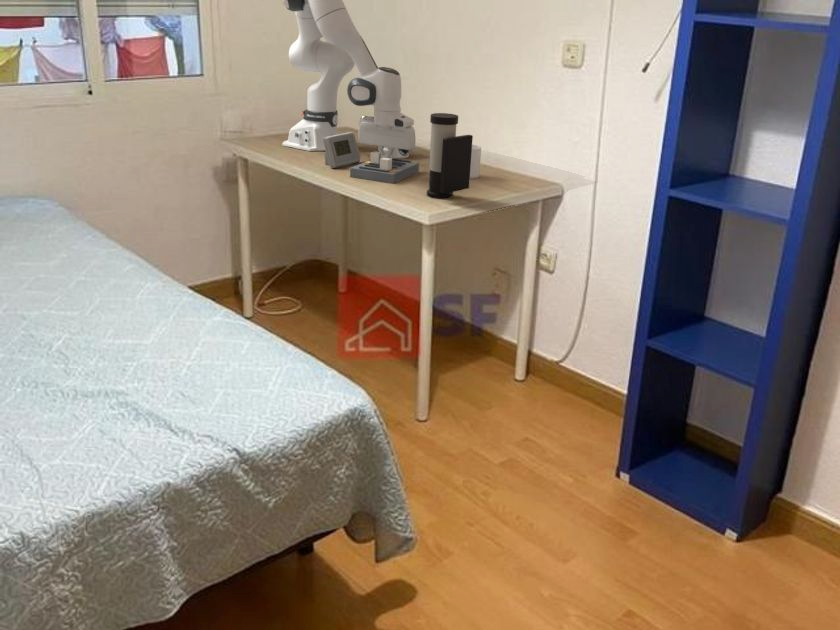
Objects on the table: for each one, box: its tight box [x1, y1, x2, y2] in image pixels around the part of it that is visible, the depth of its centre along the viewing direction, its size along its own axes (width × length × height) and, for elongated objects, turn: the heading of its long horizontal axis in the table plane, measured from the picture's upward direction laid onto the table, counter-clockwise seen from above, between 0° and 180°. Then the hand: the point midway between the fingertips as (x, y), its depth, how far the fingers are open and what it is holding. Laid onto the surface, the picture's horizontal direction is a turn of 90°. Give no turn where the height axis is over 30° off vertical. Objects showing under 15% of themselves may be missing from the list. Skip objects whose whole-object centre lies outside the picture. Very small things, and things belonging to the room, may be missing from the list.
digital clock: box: [323, 131, 361, 169], centre depth 287 cm, size 16×9×11 cm, turn 135°
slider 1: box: [370, 151, 381, 164], centre depth 278 cm, size 3×3×4 cm
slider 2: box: [380, 158, 392, 171], centre depth 270 cm, size 3×3×4 cm
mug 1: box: [384, 147, 410, 159], centre depth 305 cm, size 13×10×8 cm
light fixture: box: [426, 112, 474, 199], centre depth 250 cm, size 12×11×25 cm
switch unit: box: [349, 158, 420, 184], centre depth 278 cm, size 16×21×4 cm
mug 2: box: [470, 144, 482, 180], centre depth 281 cm, size 12×8×10 cm
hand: (385, 159), depth 277 cm, fingers closed
